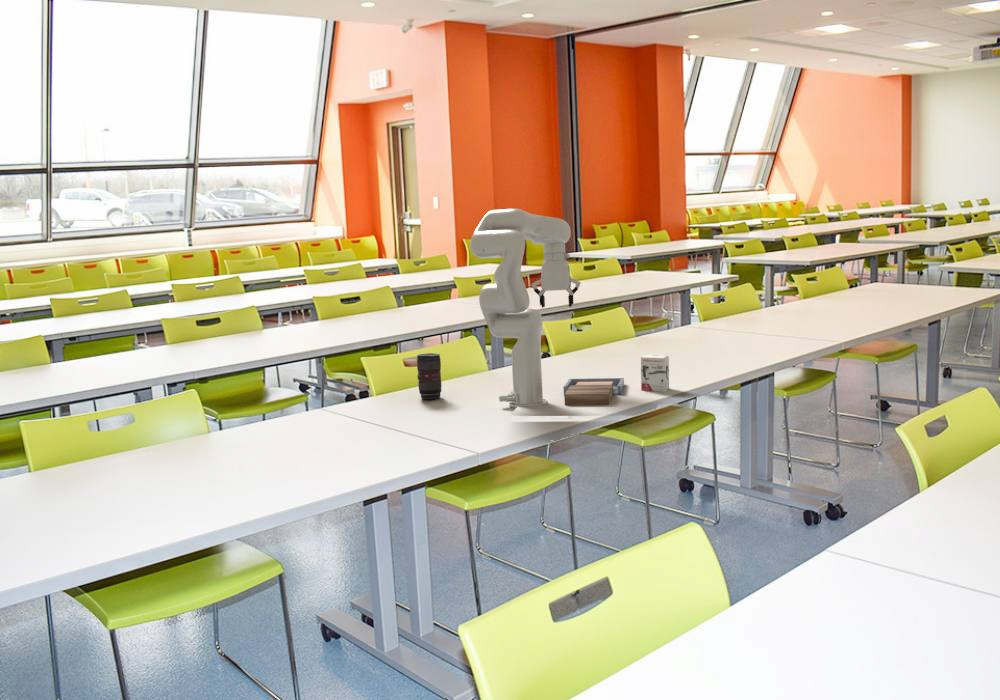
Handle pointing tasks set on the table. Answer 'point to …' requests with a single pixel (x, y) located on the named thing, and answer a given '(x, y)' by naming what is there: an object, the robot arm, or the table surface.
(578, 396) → the plate
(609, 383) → the tile
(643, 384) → the ink box
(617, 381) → the tray
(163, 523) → the table surface
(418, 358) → the camera lens
